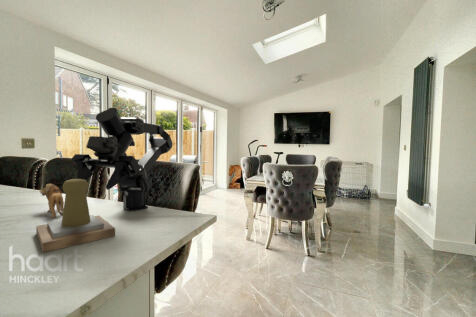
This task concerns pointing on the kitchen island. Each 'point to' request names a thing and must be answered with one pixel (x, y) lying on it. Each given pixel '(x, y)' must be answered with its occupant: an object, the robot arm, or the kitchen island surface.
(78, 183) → the cork
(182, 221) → the kitchen island surface
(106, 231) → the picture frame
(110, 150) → the robot arm
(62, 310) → the kitchen island surface
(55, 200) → the lion figurine
